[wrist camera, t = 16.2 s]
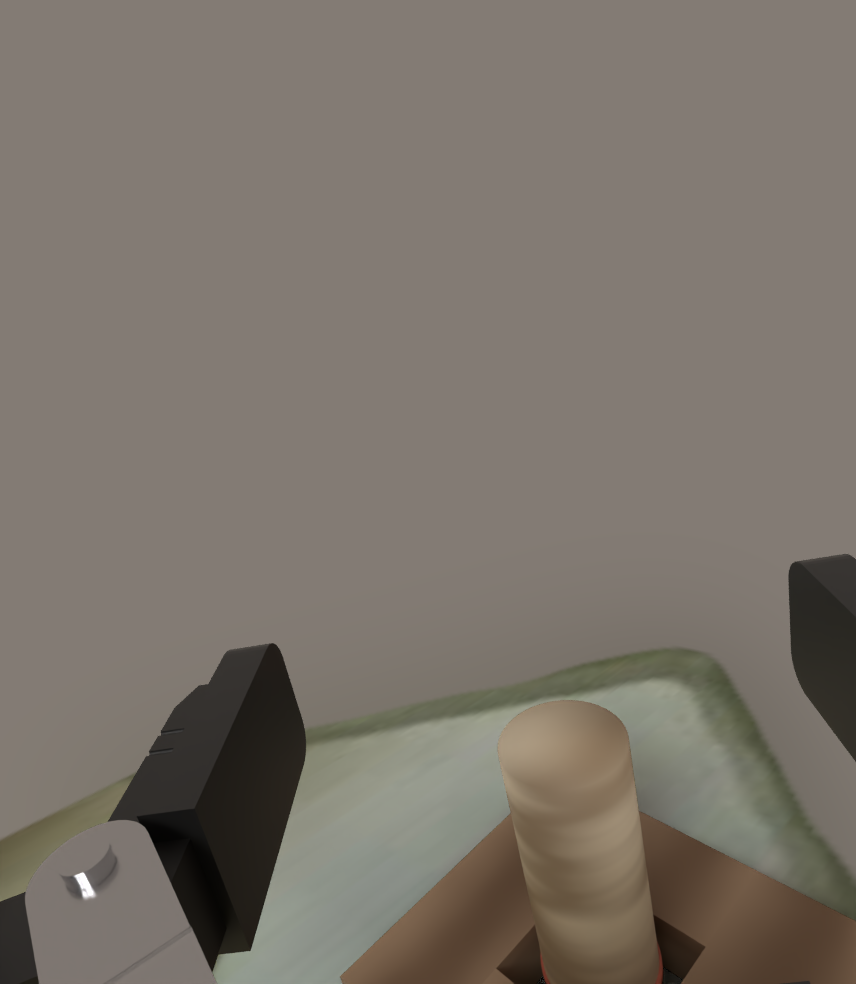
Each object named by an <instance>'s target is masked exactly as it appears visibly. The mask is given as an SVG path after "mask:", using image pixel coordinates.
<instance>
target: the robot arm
mask: <svg viewBox="0 0 856 984" xmlns="http://www.w3.org/2000/svg"><path fill="white" fill-rule="evenodd" d="M789 605H790V632H791V633H790V634H791V654H792V661H793V665H794V669H795V672H796V675H797V678H798V681H799V683H800V685H801V687H802V689H803V691H804V693H805V694H806V696H807V697H808V698H809V700H810V701H811V702H812V704H813V705H814V706H815V708H816V709H817V710H818V712H819V713H820V714H821V716H822V717H823V718H824V720H825V721H826V722H827V724H828V725H829V726H830V728H831V729H832V730H833V732H834V733H835V734H836V736H837V737H838V739H839V740H840V741H841V743H842V744H843V745H844V747H845V748H846V749H847V751H848V752H849V753H850V754H851V756H852V757H853V759H854V760H855V761H856V559H855V558H853V557H852V556H850V555H848V554H842V555H835V556H829V557H823V558H817V559H810V560H804V561H797V562H794V563H792V565H791V567H790V570H789ZM149 753H150V755H149V756H147V757H146V758H145V759H144V761H143V763H142V764H141V766H140V768H139V769H138V771H137V773H136V775H135V776H134V778H133V780H132V781H131V783H130V785H129V786H128V788H127V790H126V792H125V793H124V795H123V797H122V798H121V800H120V802H119V804H118V805H117V807H116V809H115V810H114V812H113V814H112V815H111V817H110V819H109V821H108V822H106V823H102V824H99V825H96V826H94V827H91V828H89V829H87V830H85V831H83V832H81V833H79V834H77V835H76V836H74V837H72V838H71V839H69V840H68V841H66V842H65V843H64V844H62V845H61V846H59V847H58V848H57V849H56V850H55V851H54V852H53V853H51V854H50V855H49V856H48V857H47V858H46V859H45V860H44V862H43V863H42V864H41V865H40V866H39V868H38V869H37V870H36V872H35V873H34V875H33V876H32V878H31V880H30V882H29V884H28V887H27V890H26V892H24V893H22V894H19V895H17V896H14V897H11V898H9V899H6V900H4V901H1V902H0V984H217V983H216V980H215V978H214V976H213V974H212V971H213V968H214V965H215V962H216V959H217V956H218V954H226V953H235V952H244V951H251V947H252V944H253V940H254V937H255V933H256V930H257V926H258V923H259V919H260V916H261V912H262V909H263V905H264V902H265V898H266V895H267V891H268V888H269V884H270V881H271V877H272V874H273V870H274V867H275V863H276V860H277V856H278V853H279V849H280V846H281V842H282V839H283V835H284V832H285V828H286V825H287V821H288V818H289V814H290V811H291V807H292V804H293V800H294V797H295V793H296V790H297V786H298V783H299V779H300V776H301V772H302V769H303V765H304V761H305V755H306V737H305V729H304V724H303V720H302V717H301V714H300V711H299V708H298V704H297V701H296V698H295V695H294V692H293V688H292V685H291V682H290V679H289V675H288V672H287V669H286V666H285V663H284V660H283V656H282V654H281V651H280V650H279V648H278V647H277V645H275V644H273V643H271V644H265V645H258V646H252V647H245V648H240V649H233V650H229V651H227V652H226V653H225V655H224V656H223V658H222V660H221V662H220V664H219V666H218V667H217V670H216V671H215V673H214V675H213V677H212V678H211V680H210V682H209V684H208V685H201V686H198V687H197V688H196V689H195V690H194V691H193V692H191V694H189V695H188V696H187V697H186V698H185V699H184V700H183V701H182V702H181V703H180V704H178V705H177V706H176V707H175V708H174V710H173V712H172V713H171V715H170V717H169V718H168V720H167V722H166V724H165V725H164V727H163V729H162V730H161V736H158V737H157V739H156V741H155V742H154V744H153V746H152V747H151V749H150V751H149ZM781 984H810V981H801V982H791V983H781Z"/></svg>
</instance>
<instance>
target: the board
mask: <svg viewBox="0 0 856 984" xmlns="http://www.w3.org/2000/svg"><path fill="white" fill-rule="evenodd" d="M639 816H640V823H641V831H642V838H643V845H644V852H645V860H646V867H647V874H648V881H649V888H650V896H651V903H652V910H653V917H654V925H655V932H656V939H657V942H658V945H659V948H660V952H661V956H662V964H663V967H665V968H666V969H668V970H669V971H671V972H672V973H674V974H675V975H677V976H678V977H680V978H681V979H683V981H682V983H681V984H781V983H791V982H801V981H810V984H856V921H855V920H853V919H851V918H849V917H847V916H845V915H843V914H841V913H839V912H837V911H835V910H833V909H831V908H829V907H827V906H825V905H823V904H821V903H819V902H817V901H815V900H813V899H811V898H809V897H807V896H805V895H803V894H801V893H799V892H797V891H796V890H794V889H792V888H790V887H788V886H786V885H784V884H782V883H780V882H778V881H776V880H774V879H772V878H770V877H768V876H766V875H764V874H762V873H760V872H758V871H756V870H754V869H752V868H750V867H748V866H746V865H744V864H742V863H740V862H739V861H737V860H735V859H733V858H731V857H729V856H727V855H725V854H723V853H721V852H719V851H717V850H715V849H713V848H711V847H709V846H707V845H705V844H703V843H701V842H699V841H697V840H695V839H693V838H691V837H689V836H687V835H685V834H683V833H682V832H680V831H678V830H676V829H674V828H672V827H670V826H668V825H666V824H664V823H662V822H660V821H658V820H656V819H654V818H652V817H650V816H648V815H646V814H644V813H642V812H640V811H639ZM540 953H541V951H540V946H539V942H538V937H537V932H536V928H535V923H534V918H533V914H532V909H531V904H530V900H529V895H528V890H527V886H526V881H525V876H524V872H523V867H522V863H521V858H520V853H519V849H518V844H517V839H516V835H515V830H514V825H513V821H512V816H511V813H510V814H509V815H508V816H507V817H506V818H505V819H504V820H503V821H502V822H501V823H500V824H499V825H498V826H497V827H496V828H495V829H494V830H493V831H492V832H491V833H490V834H488V835H487V836H486V837H485V838H484V839H483V840H482V841H481V842H480V843H479V844H478V845H477V846H476V847H475V848H474V849H473V850H472V851H471V852H470V853H469V854H468V855H467V856H465V857H464V858H463V859H462V860H461V861H460V862H459V863H458V864H457V865H456V866H455V867H454V868H453V869H452V870H451V871H450V872H449V873H448V874H447V875H446V876H445V877H444V878H443V879H441V880H440V881H439V882H438V883H437V884H436V885H435V886H434V887H433V888H432V889H431V890H430V891H429V892H428V893H427V894H426V895H425V896H424V897H423V898H422V899H421V900H420V901H418V902H417V903H416V904H415V905H414V906H413V907H412V908H411V909H410V910H409V911H408V912H407V913H406V914H405V915H404V916H403V917H402V918H401V919H400V920H399V921H398V922H397V923H395V924H394V925H393V926H392V927H391V928H390V929H389V930H388V931H387V932H386V933H385V934H384V935H383V936H382V937H381V938H380V939H379V940H378V941H377V942H376V943H375V944H374V945H373V946H371V947H370V948H369V949H368V950H367V951H366V952H365V953H364V954H363V955H362V956H361V957H360V958H359V959H358V960H357V961H356V962H355V963H354V964H353V965H352V966H351V967H350V968H348V969H347V970H346V971H345V972H344V973H343V974H342V975H341V976H340V977H341V980H342V983H343V984H537V982H538V981H539V980H540V979H541V977H542V976H543V972H542V967H541V958H540Z"/></svg>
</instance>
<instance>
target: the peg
mask: <svg viewBox="0 0 856 984" xmlns="http://www.w3.org/2000/svg"><path fill="white" fill-rule="evenodd" d="M498 756H499V760H500V765H501V770H502V774H503V779H504V784H505V788H506V793H507V798H508V802H509V807H510V811H511V816H512V821H513V825H514V830H515V835H516V839H517V844H518V849H519V853H520V858H521V863H522V867H523V872H524V876H525V881H526V886H527V890H528V895H529V900H530V904H531V909H532V914H533V918H534V923H535V928H536V932H537V937H538V942H539V946H540V951H541V953H540V958H541V967H542V972H543V976H544V980H545V983H546V984H662V982H663V964H662V956H661V952H660V948H659V945H658V942H657V939H656V932H655V925H654V917H653V910H652V903H651V896H650V888H649V881H648V874H647V867H646V860H645V852H644V845H643V838H642V831H641V823H640V816H639V809H638V802H637V794H636V787H635V780H634V773H633V766H632V758H631V751H630V744H629V737H628V733H627V730H626V728H625V726H624V725H623V723H622V722H621V720H620V719H619V718H618V717H617V716H615V715H614V714H613V713H612V712H610V711H608V710H607V709H605V708H603V707H601V706H598V705H595V704H592V703H588V702H583V701H575V700H560V701H552V702H547V703H543V704H539V705H537V706H534V707H531V708H529V709H527V710H525V711H523V712H522V713H520V714H518V715H517V716H516V717H515V718H513V719H512V720H511V721H510V722H509V723H508V724H507V725H506V727H505V728H504V730H503V731H502V733H501V735H500V738H499V741H498Z"/></svg>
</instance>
